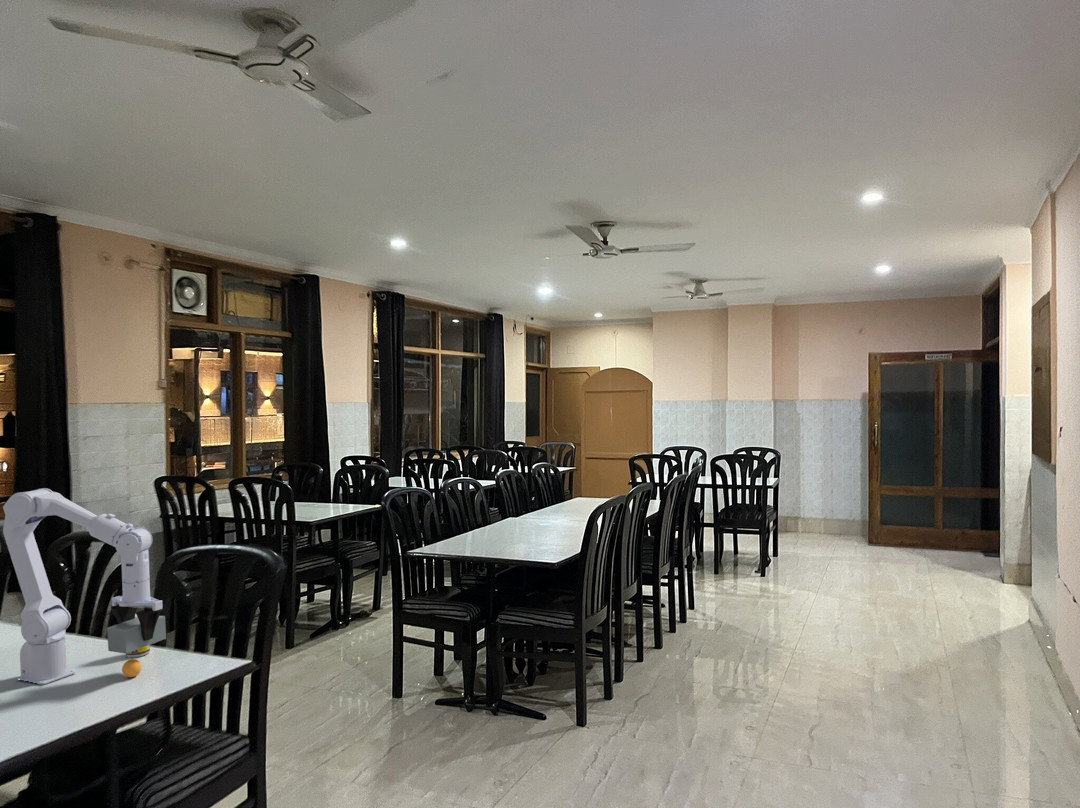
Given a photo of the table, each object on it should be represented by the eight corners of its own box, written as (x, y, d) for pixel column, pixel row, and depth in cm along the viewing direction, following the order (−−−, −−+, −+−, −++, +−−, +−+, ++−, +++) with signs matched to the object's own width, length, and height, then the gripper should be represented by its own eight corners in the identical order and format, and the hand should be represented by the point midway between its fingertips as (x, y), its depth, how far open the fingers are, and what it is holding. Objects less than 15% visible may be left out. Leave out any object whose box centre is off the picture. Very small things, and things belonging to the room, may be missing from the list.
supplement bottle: (120, 656, 194) (119, 616, 194) (141, 649, 199) (140, 610, 199) (134, 659, 191) (132, 618, 191) (155, 652, 196) (153, 612, 196)
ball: (131, 655, 181) (135, 671, 182) (116, 663, 178) (120, 679, 178) (143, 656, 179) (146, 672, 180) (128, 665, 176) (131, 681, 176)
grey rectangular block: (108, 650, 177) (107, 627, 177) (148, 636, 187) (147, 614, 186) (126, 653, 174) (124, 630, 174) (166, 638, 184) (164, 616, 184)
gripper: (99, 582, 180) (101, 640, 180) (142, 586, 174) (145, 646, 174) (126, 575, 186) (128, 631, 186) (169, 579, 180) (171, 637, 180)
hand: (138, 638), depth 181 cm, fingers closed on grey rectangular block, 6 cm apart
